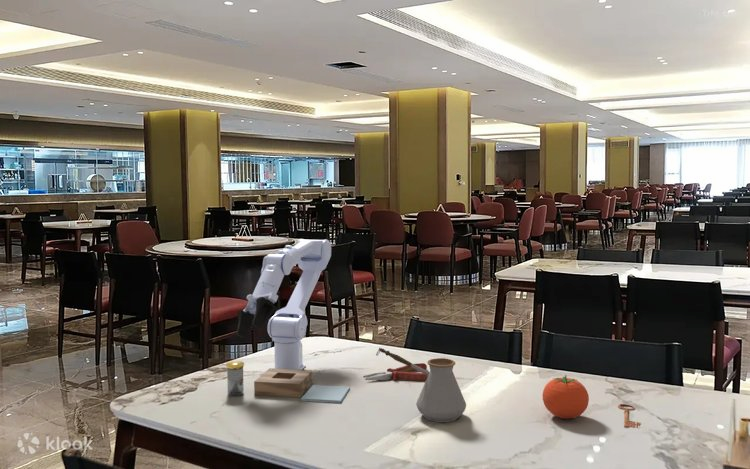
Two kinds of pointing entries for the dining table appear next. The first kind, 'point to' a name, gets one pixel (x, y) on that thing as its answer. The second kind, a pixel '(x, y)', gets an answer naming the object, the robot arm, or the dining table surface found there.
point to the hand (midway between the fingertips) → (248, 331)
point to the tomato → (565, 397)
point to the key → (626, 422)
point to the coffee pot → (437, 390)
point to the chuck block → (283, 382)
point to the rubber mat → (325, 394)
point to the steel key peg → (235, 378)
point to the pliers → (400, 374)
